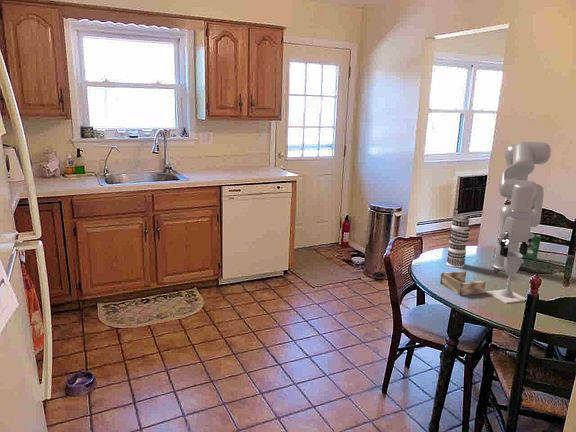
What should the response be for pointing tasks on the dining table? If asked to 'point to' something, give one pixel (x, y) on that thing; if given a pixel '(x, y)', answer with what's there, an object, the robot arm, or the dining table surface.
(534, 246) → the coffee box
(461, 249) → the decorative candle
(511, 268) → the chalice
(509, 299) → the mat
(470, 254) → the dining table surface
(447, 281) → the cubby
